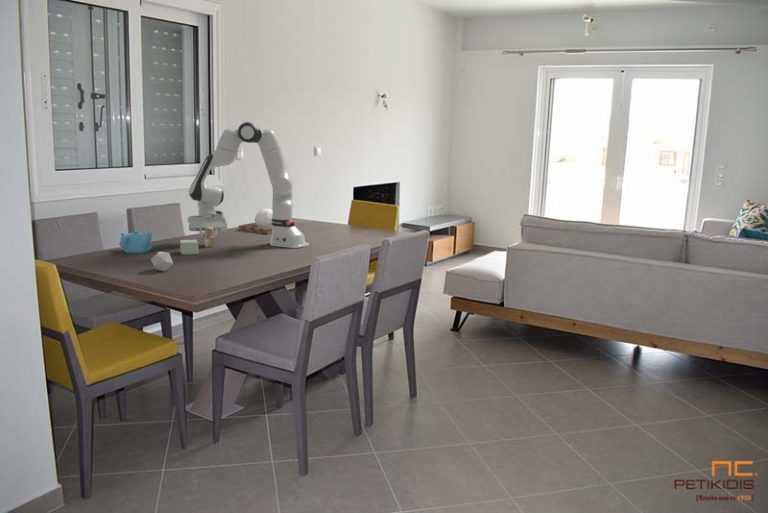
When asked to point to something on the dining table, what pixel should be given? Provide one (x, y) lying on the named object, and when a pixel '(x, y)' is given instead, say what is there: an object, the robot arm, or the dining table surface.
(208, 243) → the beech block
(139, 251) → the teapot
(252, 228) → the wooden rectangular frame
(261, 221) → the geodesic sphere
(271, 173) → the robot arm
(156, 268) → the die
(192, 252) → the sage cube
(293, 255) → the dining table surface
